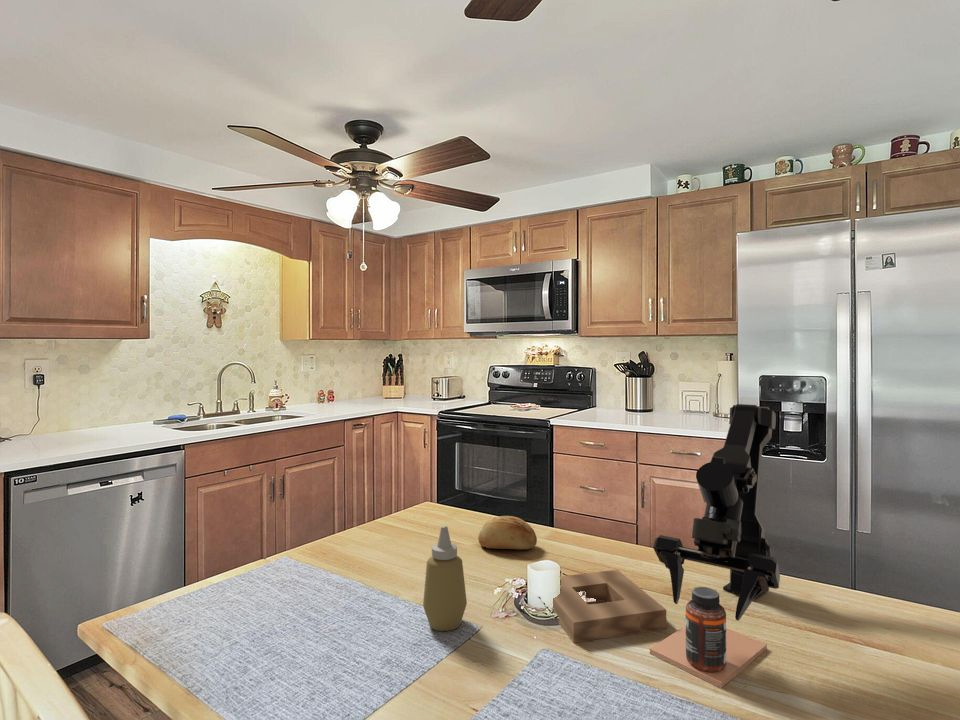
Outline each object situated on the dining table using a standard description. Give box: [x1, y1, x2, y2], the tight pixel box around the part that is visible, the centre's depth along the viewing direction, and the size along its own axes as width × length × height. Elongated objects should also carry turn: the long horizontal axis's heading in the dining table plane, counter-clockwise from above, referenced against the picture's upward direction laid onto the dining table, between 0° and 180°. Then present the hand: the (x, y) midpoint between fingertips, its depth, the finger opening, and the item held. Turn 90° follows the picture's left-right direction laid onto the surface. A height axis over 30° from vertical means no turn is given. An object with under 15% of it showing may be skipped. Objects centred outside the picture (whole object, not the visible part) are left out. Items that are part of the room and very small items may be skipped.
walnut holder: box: [553, 569, 667, 644], centre depth 104 cm, size 18×18×4 cm
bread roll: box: [477, 515, 538, 550], centre depth 137 cm, size 10×15×8 cm, turn 81°
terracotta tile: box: [649, 625, 768, 689], centre depth 90 cm, size 16×12×1 cm
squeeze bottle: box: [422, 525, 468, 632], centre depth 99 cm, size 8×8×18 cm
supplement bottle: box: [685, 586, 727, 672], centre depth 85 cm, size 6×6×11 cm
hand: (705, 610), depth 85 cm, fingers open, 9 cm apart
